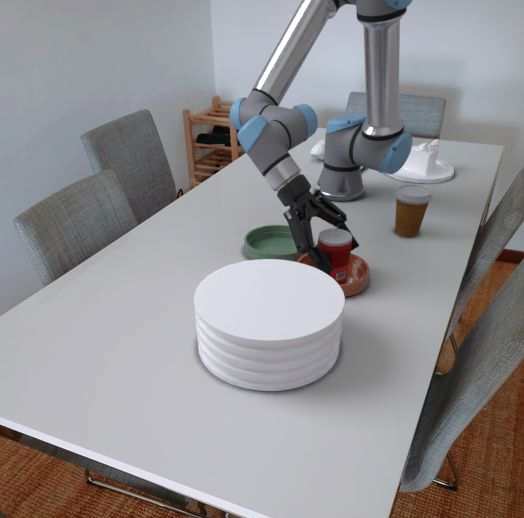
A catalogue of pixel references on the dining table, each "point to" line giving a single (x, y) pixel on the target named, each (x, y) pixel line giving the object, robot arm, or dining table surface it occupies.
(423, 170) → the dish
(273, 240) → the sage bowl
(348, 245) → the canned food
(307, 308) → the plate stack
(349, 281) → the terracotta bowl
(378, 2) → the robot arm
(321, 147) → the roll
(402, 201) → the disposable coffee cup
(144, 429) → the dining table surface
